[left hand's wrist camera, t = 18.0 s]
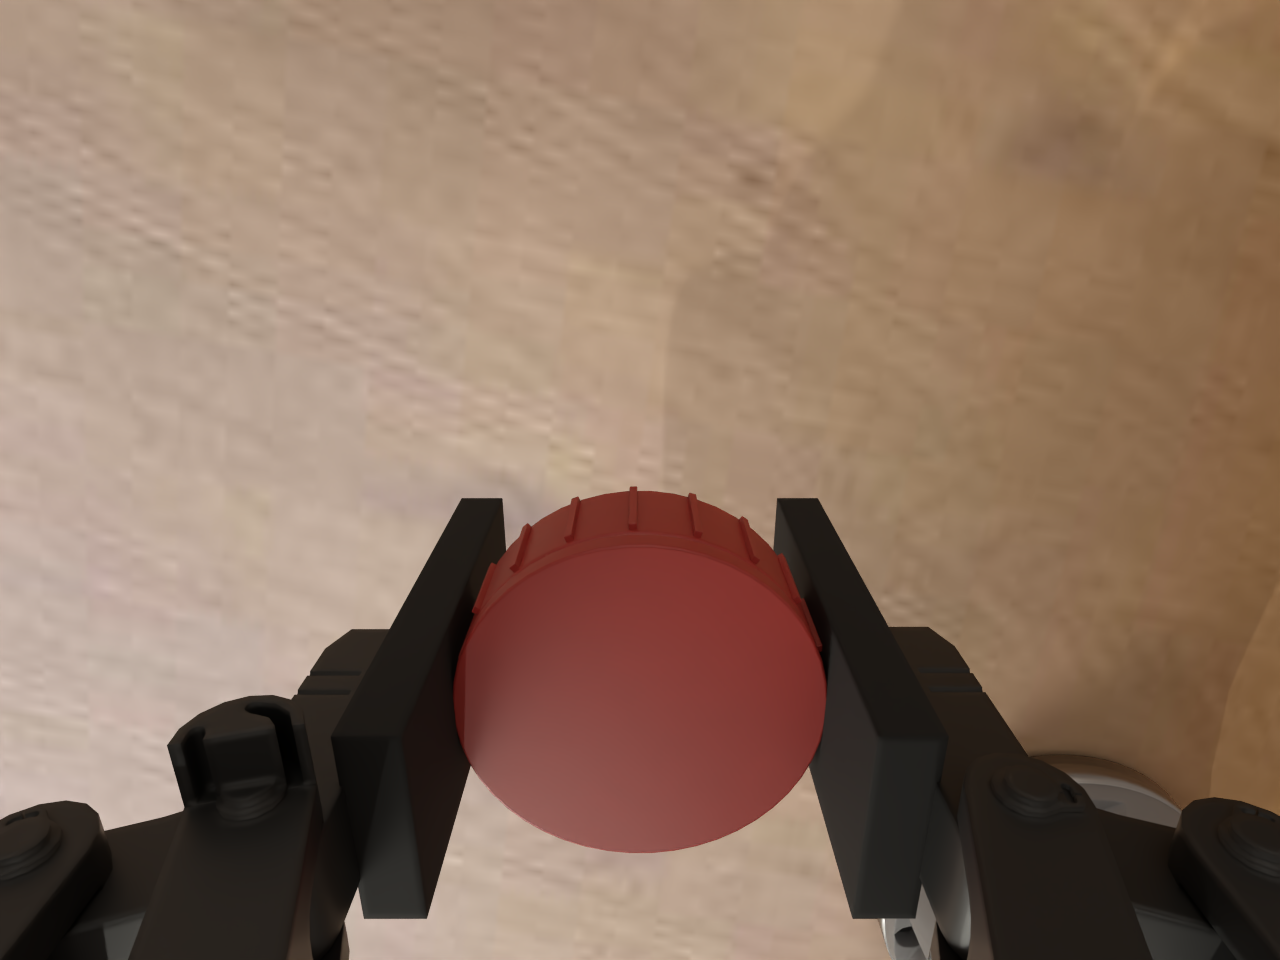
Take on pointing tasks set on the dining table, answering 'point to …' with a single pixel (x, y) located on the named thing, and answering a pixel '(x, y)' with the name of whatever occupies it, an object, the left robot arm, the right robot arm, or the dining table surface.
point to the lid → (640, 675)
